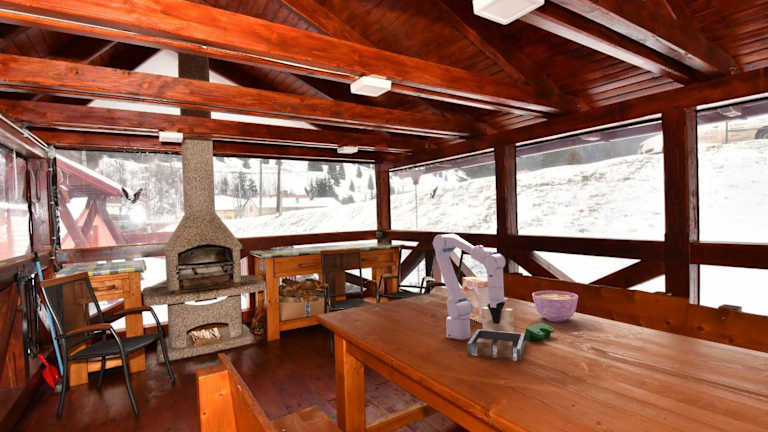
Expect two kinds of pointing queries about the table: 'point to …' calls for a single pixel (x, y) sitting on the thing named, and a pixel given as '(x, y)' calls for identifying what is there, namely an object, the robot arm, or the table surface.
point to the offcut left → (485, 346)
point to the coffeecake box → (476, 295)
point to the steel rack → (514, 337)
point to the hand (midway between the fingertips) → (497, 322)
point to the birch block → (505, 320)
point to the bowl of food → (555, 304)
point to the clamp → (538, 332)
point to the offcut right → (504, 349)
